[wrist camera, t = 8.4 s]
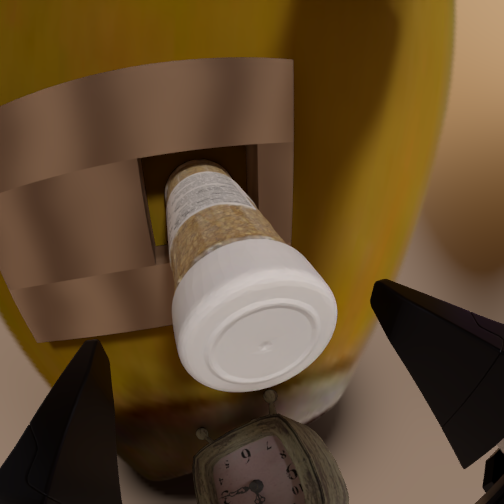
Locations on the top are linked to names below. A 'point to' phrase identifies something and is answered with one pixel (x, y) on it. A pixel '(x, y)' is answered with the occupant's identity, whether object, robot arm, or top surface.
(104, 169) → the wooden board
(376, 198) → the top surface
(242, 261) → the sprinkles bottle
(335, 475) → the tabletop clock
